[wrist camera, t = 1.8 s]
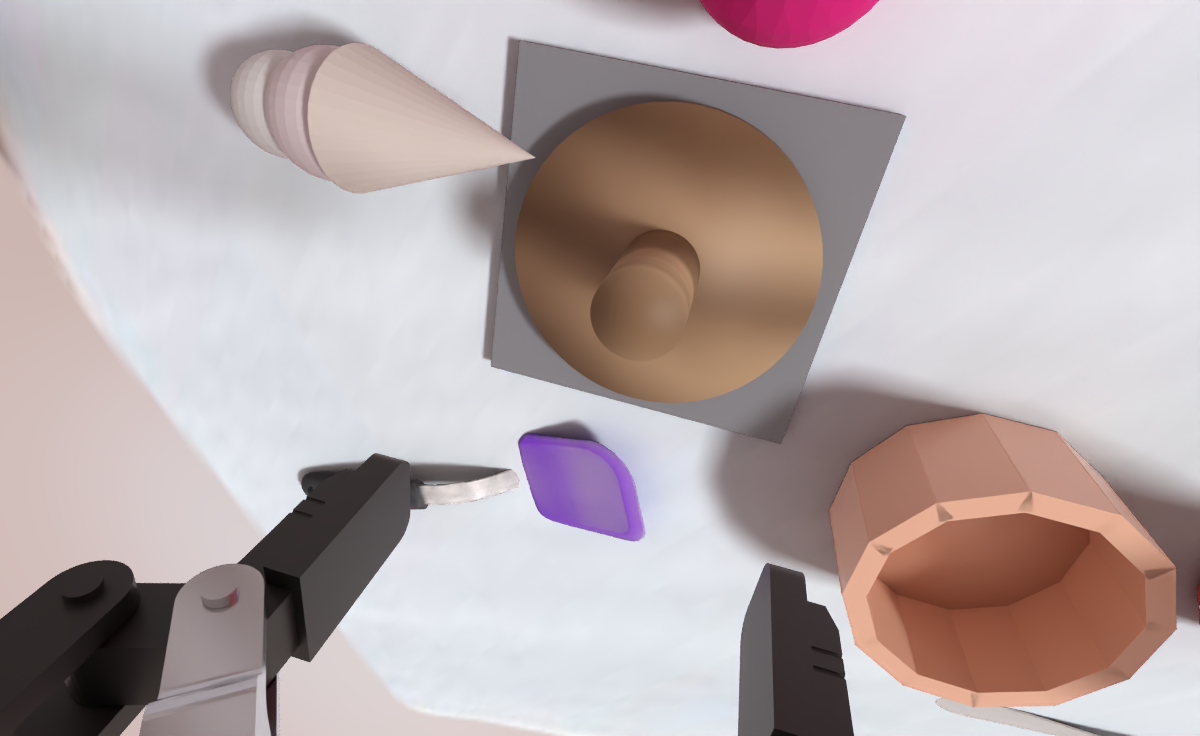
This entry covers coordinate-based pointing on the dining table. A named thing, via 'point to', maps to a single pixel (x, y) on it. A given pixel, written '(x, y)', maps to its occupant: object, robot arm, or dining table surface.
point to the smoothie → (1199, 598)
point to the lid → (669, 251)
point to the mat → (794, 122)
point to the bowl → (996, 566)
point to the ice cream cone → (360, 119)
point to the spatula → (549, 486)
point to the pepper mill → (786, 19)
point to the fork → (1012, 718)
